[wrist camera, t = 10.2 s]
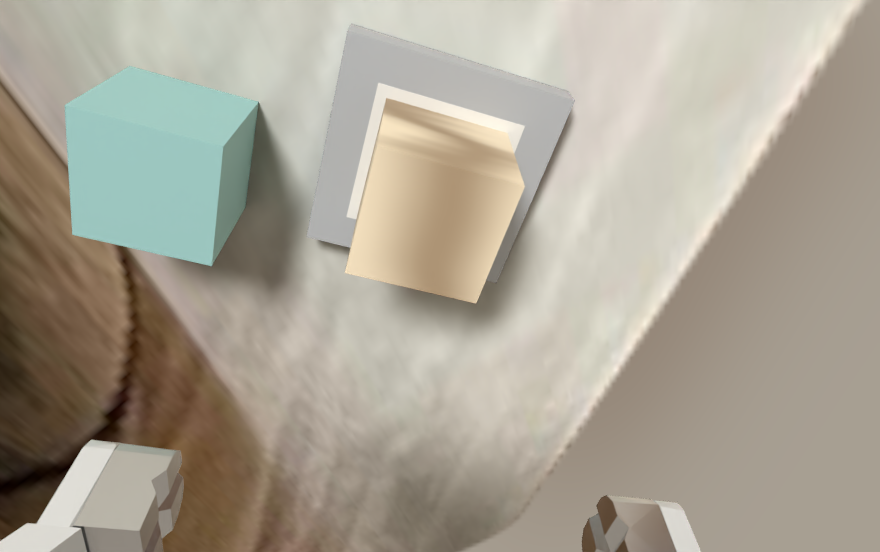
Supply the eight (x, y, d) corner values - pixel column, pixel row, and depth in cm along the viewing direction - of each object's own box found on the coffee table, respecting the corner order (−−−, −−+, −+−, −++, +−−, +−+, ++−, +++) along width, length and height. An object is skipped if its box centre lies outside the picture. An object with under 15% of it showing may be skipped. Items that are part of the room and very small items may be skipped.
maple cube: (358, 208, 25) (344, 272, 21) (386, 97, 22) (377, 145, 18) (468, 236, 26) (476, 303, 22) (507, 133, 23) (524, 186, 19)
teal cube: (130, 178, 25) (72, 234, 21) (130, 65, 23) (64, 105, 19) (245, 206, 26) (211, 266, 22) (259, 101, 24) (223, 146, 20)
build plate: (310, 224, 27) (306, 237, 26) (351, 23, 22) (347, 30, 21) (494, 269, 28) (496, 283, 27) (568, 91, 24) (574, 100, 23)
